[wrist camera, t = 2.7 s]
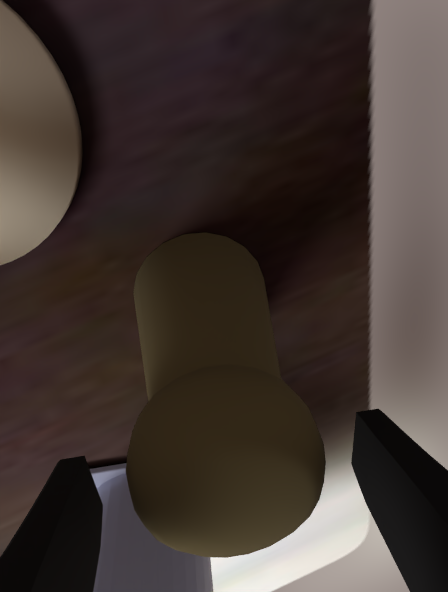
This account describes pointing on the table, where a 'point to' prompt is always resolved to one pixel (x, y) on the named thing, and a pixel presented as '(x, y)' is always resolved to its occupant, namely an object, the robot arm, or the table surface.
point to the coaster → (33, 139)
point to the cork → (216, 407)
